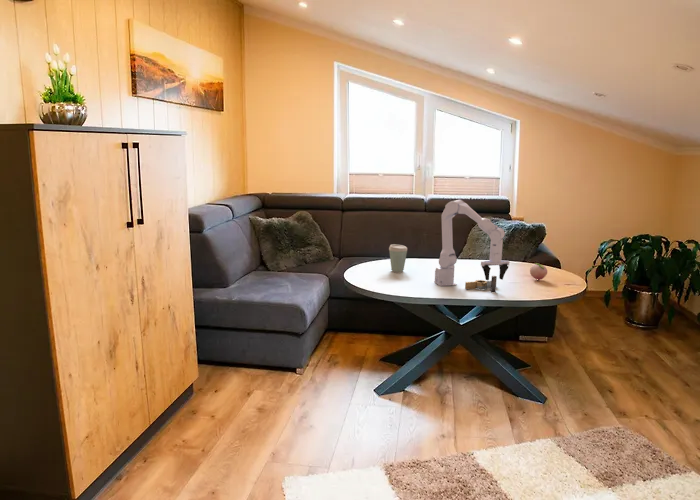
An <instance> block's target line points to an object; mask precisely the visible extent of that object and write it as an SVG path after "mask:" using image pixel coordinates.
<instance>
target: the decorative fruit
mask: <svg viewBox="0 0 700 500" xmlns="http://www.w3.org/2000/svg"><path fill="white" fill-rule="evenodd" d="M540 263H541V262H539V263H537V262H535V263H534V264H533V265H532V266H530V269H529V274H530V275H531V277H532V278H534V279H536V280H537V279H538V280H537V281H540V280H542V279H544V278H545V277H547V275H548V269H547V267H546V266H545V265H543V264H540Z"/></svg>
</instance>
